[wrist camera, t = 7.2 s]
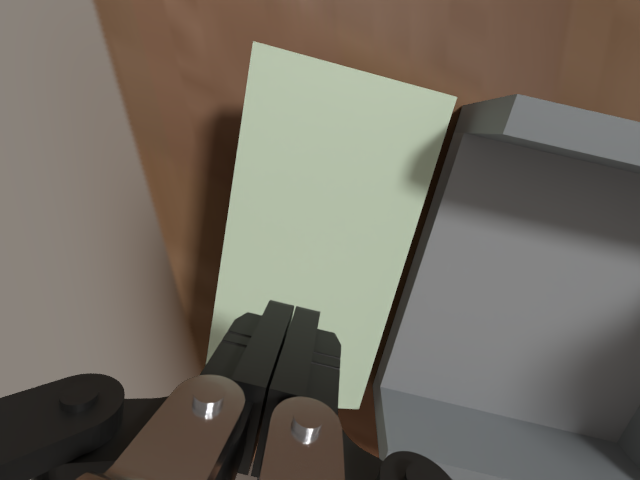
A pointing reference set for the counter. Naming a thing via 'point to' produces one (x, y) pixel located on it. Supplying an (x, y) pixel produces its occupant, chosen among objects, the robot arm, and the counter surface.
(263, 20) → the counter surface
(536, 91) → the counter surface
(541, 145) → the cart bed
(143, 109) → the counter surface
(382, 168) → the pale green rectangular board
